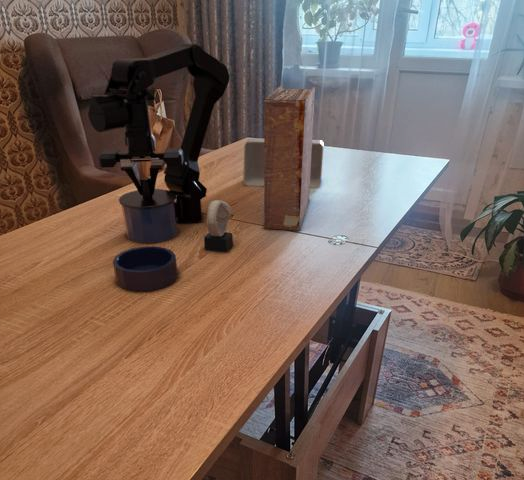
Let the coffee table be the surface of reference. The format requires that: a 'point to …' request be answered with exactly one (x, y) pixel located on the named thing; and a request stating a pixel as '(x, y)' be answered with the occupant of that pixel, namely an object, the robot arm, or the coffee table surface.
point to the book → (287, 156)
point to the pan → (145, 268)
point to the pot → (150, 223)
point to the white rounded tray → (255, 162)
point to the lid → (147, 197)
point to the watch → (218, 227)
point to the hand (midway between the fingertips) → (147, 194)
